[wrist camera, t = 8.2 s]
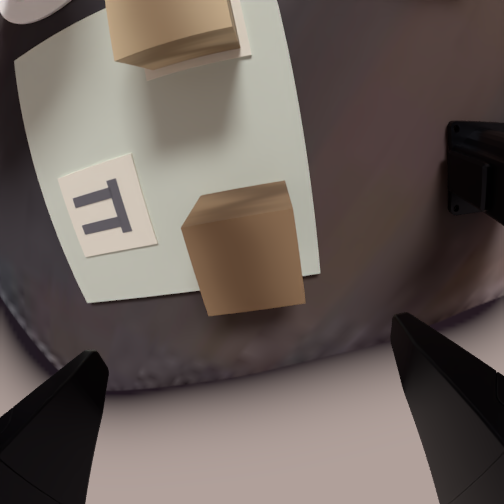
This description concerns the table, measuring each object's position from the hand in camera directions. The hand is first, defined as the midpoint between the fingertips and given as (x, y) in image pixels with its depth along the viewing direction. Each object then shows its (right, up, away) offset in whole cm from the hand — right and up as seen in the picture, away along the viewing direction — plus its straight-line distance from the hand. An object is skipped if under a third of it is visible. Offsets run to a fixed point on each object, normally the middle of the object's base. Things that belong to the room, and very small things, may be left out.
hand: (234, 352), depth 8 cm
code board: (-6, +9, +9) cm, 14 cm away
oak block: (-3, +15, +5) cm, 16 cm away
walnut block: (0, +4, +11) cm, 11 cm away
